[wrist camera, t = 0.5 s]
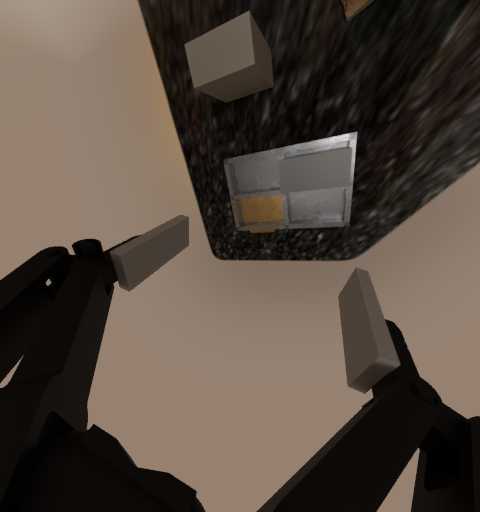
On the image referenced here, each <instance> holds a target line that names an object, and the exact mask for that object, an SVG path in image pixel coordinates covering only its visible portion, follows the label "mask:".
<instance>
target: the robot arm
mask: <svg viewBox="0 0 480 512" xmlns="http://www.w3.org/2000/svg"><path fill="white" fill-rule="evenodd" d="M188 245H189V217H186V216H183V215H179V216H177V217H175V218H173V219H172V220H170V221H167V222H166V223H164V224H162V225H160V226H158V227H156V228H154V229H152V230H150V231H148V232H146V233H145V234H142V235H138V236H134V237H132V238H130V239H128V240H127V241H124V242H122V243H120V244H118V245H116V246H114V247H112V248H110V249H108V250H106V251H104V252H103V249H102V245H101V242H100V241H99V240H96V239H84V240H80V241H77V242H75V243H74V244H73V245H72V247H73V250H74V252H75V255H70V254H69V252H68V250H67V248H65V247H60V246H58V247H56V246H55V247H49V248H46V249H44V250H42V251H40V252H38V253H37V254H36V255H34V256H33V257H31V258H30V259H29V260H28V261H26V262H25V263H23V264H22V265H21V266H19V267H18V268H16V269H15V270H14V271H12V272H11V273H10V274H8V275H7V276H5V278H3V279H2V280H0V383H1V382H2V381H3V379H4V378H5V377H6V376H7V374H8V373H9V372H10V371H11V369H12V368H13V367H14V366H15V365H16V364H17V362H18V361H19V360H20V359H21V358H22V356H23V355H24V356H23V358H22V360H21V361H20V363H19V365H18V367H17V369H16V371H15V372H14V374H13V376H12V378H11V380H10V381H9V383H8V384H7V385H6V386H5V387H3V388H0V512H205V510H204V508H203V506H202V504H201V503H200V502H199V500H198V499H197V497H196V493H197V491H196V490H194V489H192V488H191V487H189V486H188V485H186V484H185V483H183V482H182V481H180V480H179V479H177V478H175V477H174V476H173V475H171V474H170V473H167V472H161V471H155V470H149V469H144V468H138V467H137V466H136V465H135V463H134V462H133V460H132V458H131V457H130V456H129V455H128V453H127V452H126V451H125V449H124V448H123V447H122V445H121V444H120V443H119V441H118V440H117V439H116V438H115V437H113V436H112V435H110V434H109V433H107V432H105V431H104V430H102V429H101V428H99V427H98V426H96V425H95V424H93V425H92V427H91V428H90V429H89V430H86V429H87V423H88V410H87V402H88V397H89V393H90V388H91V384H92V380H93V376H94V372H95V367H96V363H97V359H98V354H99V350H100V346H101V342H102V338H103V333H104V329H105V324H106V320H107V316H108V312H109V308H110V303H111V299H112V295H113V291H114V284H113V283H115V282H116V281H118V282H119V286H120V287H121V288H123V289H125V290H127V291H131V290H132V289H134V288H135V287H136V286H137V285H139V284H140V283H141V282H142V281H144V280H145V279H146V278H148V277H149V276H150V275H151V274H153V273H154V272H155V271H157V270H158V269H159V268H160V267H162V266H163V265H164V264H166V263H167V262H168V261H169V260H171V259H172V258H173V257H174V256H176V255H177V254H178V253H180V252H181V251H182V250H183V249H185V248H186V247H187V246H188ZM48 279H50V281H51V284H50V285H49V286H47V285H46V281H47V280H48ZM339 307H340V316H341V326H342V335H343V344H344V354H345V364H346V373H347V383H348V387H351V388H353V389H355V390H357V391H360V392H362V393H364V394H365V393H366V392H368V391H369V390H370V389H371V388H372V392H373V397H374V398H372V399H371V400H370V401H368V402H367V403H366V404H364V405H363V406H362V407H363V408H362V409H361V410H360V411H359V412H358V413H357V414H356V415H354V417H353V418H351V419H350V421H348V423H346V424H345V425H344V426H343V427H342V428H341V429H340V430H339V431H338V432H337V433H336V434H335V435H334V436H333V437H332V438H331V439H330V440H329V441H328V442H327V443H326V444H325V445H324V446H323V447H322V448H321V449H320V450H319V451H318V452H317V453H316V454H315V455H314V456H313V457H312V458H311V459H310V460H309V461H308V462H307V463H306V464H305V465H304V466H303V467H302V468H301V469H300V470H299V471H298V472H297V473H296V474H295V475H293V476H292V477H291V479H289V480H288V481H287V482H286V483H285V484H284V485H283V486H282V487H281V489H279V490H278V491H277V492H276V493H275V494H274V495H273V496H272V497H271V498H270V499H269V500H268V501H267V502H266V503H265V504H264V505H263V506H262V507H261V508H260V509H259V510H258V511H257V512H377V510H378V509H379V507H380V505H381V504H382V502H383V501H384V499H385V498H386V496H387V495H388V493H389V491H390V490H391V488H392V487H393V485H394V484H395V482H396V481H397V479H398V478H399V476H400V475H401V473H402V471H403V470H404V468H405V467H406V465H407V464H408V462H409V461H410V459H411V458H412V456H413V454H414V453H415V451H416V450H417V448H419V449H420V453H419V459H418V466H417V473H416V480H415V487H414V494H413V500H412V507H411V512H480V417H479V416H476V417H472V418H470V419H466V418H465V417H463V416H462V415H460V414H459V413H457V412H456V411H454V410H453V409H451V408H450V407H448V406H447V405H445V404H444V403H442V400H441V398H440V396H439V395H438V393H437V392H436V390H435V389H434V388H433V387H432V386H431V385H429V383H428V382H426V381H425V380H424V379H422V378H420V376H419V374H418V371H417V369H416V366H415V364H414V361H413V359H412V356H411V354H410V352H409V350H408V349H407V348H408V347H407V345H406V342H404V341H405V340H404V338H403V335H402V332H401V331H400V329H399V328H398V327H397V326H396V325H395V323H394V322H392V321H389V320H386V319H384V316H383V313H382V311H381V307H380V305H379V302H378V299H377V296H376V293H375V290H374V287H373V285H372V282H371V279H370V276H369V273H368V271H365V270H361V269H358V268H356V269H355V270H354V272H353V273H352V275H351V277H350V278H349V280H348V282H347V283H346V285H345V286H344V288H343V290H342V291H341V293H340V294H339Z"/></svg>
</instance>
